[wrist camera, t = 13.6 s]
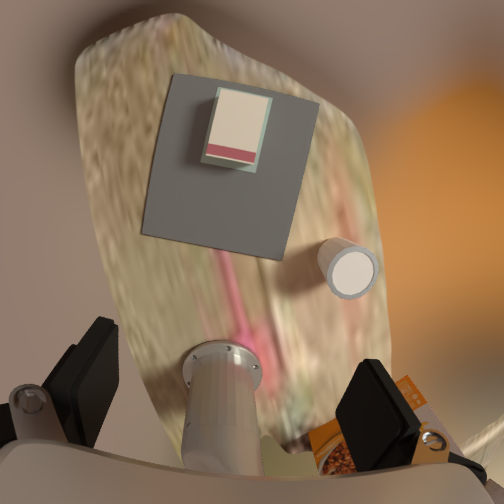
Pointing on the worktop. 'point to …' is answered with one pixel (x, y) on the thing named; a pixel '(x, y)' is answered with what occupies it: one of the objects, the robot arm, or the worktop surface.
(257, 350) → the worktop surface
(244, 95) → the card box
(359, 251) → the white cup
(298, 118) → the mat
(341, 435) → the cereal box
